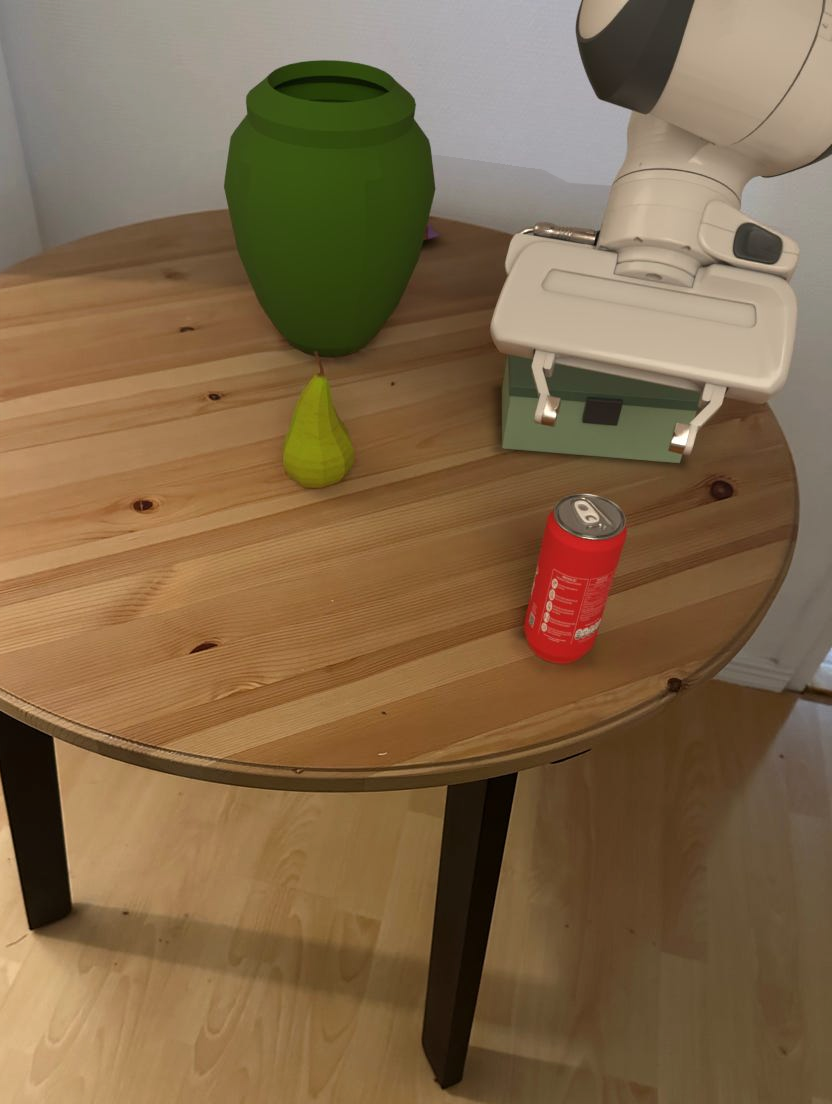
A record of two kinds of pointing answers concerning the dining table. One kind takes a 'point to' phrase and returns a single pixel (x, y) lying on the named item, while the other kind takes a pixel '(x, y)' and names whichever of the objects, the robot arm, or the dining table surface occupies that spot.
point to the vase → (329, 200)
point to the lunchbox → (594, 413)
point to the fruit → (317, 438)
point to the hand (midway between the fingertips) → (610, 437)
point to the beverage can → (574, 576)
